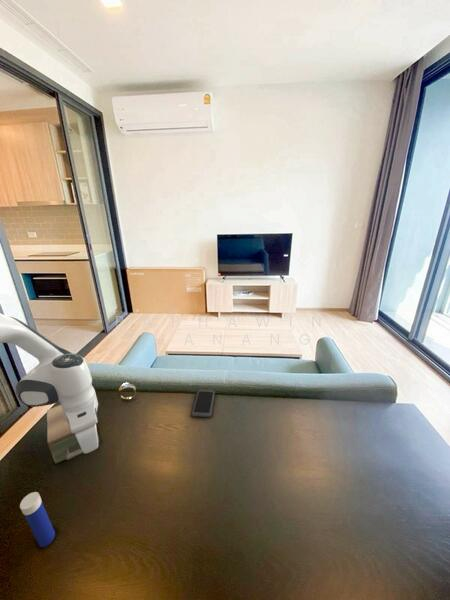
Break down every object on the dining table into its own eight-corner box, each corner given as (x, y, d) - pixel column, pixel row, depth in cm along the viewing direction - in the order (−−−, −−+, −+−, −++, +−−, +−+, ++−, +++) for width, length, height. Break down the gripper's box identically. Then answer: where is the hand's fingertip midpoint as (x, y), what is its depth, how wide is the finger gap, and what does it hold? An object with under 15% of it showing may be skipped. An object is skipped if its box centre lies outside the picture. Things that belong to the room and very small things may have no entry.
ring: (138, 396, 102) (135, 380, 99) (136, 401, 99) (133, 385, 96) (120, 398, 101) (117, 382, 98) (118, 403, 98) (115, 387, 95)
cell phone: (191, 416, 91) (190, 415, 91) (198, 390, 104) (198, 389, 104) (210, 417, 90) (210, 416, 90) (215, 391, 103) (215, 390, 103)
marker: (38, 551, 56) (19, 513, 51) (38, 536, 58) (20, 498, 53) (55, 540, 57) (39, 502, 53) (55, 526, 60) (39, 488, 55)
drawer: (100, 453, 77) (95, 437, 75) (57, 474, 71) (51, 458, 69) (91, 415, 91) (87, 401, 89) (55, 430, 85) (49, 415, 83)
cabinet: (99, 442, 82) (94, 422, 79) (54, 463, 75) (47, 443, 72) (92, 412, 94) (87, 394, 91) (53, 428, 87) (46, 410, 84)
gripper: (66, 389, 78) (76, 422, 83) (70, 434, 63) (83, 471, 67) (88, 382, 82) (96, 413, 87) (97, 422, 66) (107, 458, 71)
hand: (90, 439), depth 77 cm, fingers closed
